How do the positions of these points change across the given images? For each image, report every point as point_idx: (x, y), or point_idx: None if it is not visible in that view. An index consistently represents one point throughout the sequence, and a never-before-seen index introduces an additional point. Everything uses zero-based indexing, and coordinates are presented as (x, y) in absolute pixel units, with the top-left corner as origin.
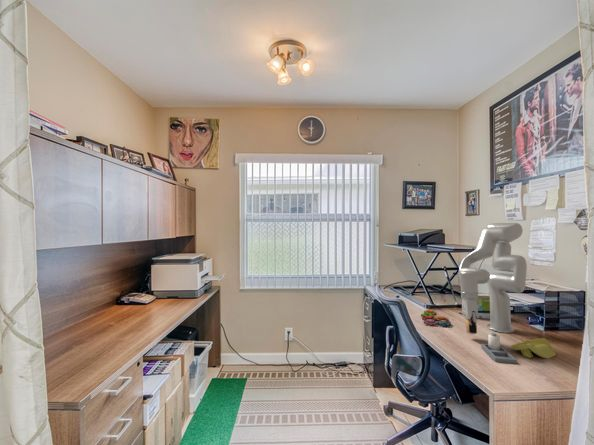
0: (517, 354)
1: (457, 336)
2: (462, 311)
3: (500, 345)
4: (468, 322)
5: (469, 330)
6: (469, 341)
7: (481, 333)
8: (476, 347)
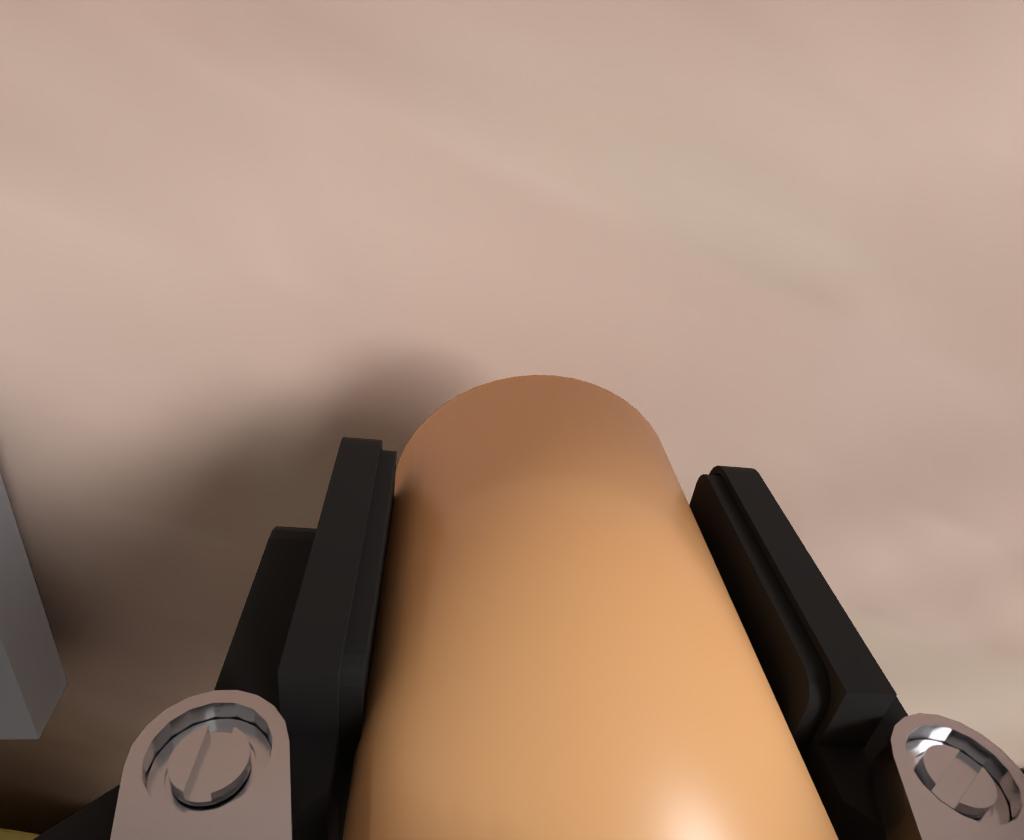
0: (3, 771)
1: (829, 138)
2: None
3: (8, 734)
4: (423, 757)
5: (351, 473)
6: (470, 306)
7: (890, 646)
8: (72, 313)
